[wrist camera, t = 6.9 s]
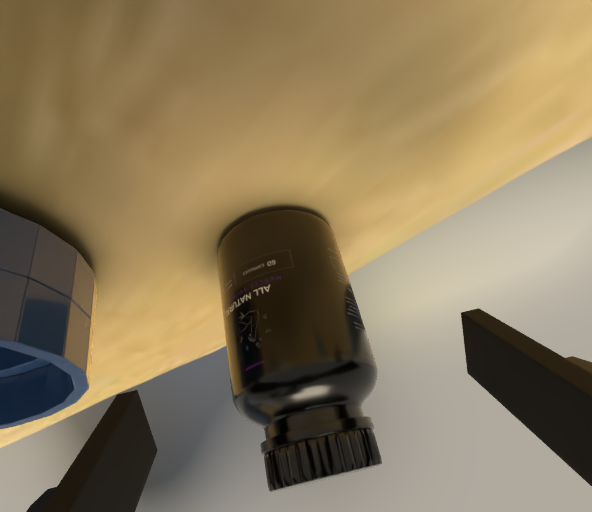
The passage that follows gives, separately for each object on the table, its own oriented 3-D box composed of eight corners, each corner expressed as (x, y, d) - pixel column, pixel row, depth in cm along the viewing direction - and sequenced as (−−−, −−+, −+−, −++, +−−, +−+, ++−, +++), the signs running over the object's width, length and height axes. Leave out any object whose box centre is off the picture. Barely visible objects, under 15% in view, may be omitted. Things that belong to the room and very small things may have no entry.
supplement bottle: (219, 204, 18) (260, 493, 11) (347, 203, 20) (443, 447, 13) (211, 279, 23) (236, 504, 17) (313, 272, 25) (370, 470, 19)
